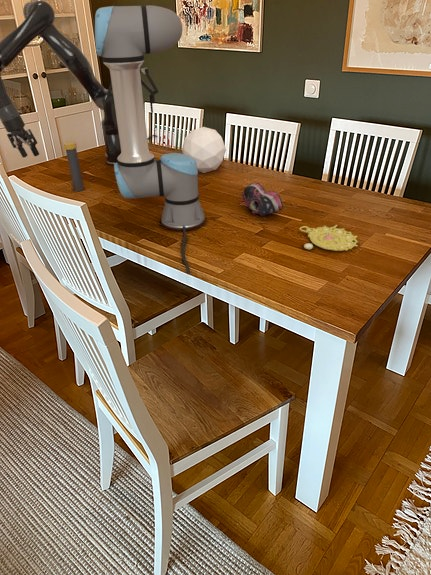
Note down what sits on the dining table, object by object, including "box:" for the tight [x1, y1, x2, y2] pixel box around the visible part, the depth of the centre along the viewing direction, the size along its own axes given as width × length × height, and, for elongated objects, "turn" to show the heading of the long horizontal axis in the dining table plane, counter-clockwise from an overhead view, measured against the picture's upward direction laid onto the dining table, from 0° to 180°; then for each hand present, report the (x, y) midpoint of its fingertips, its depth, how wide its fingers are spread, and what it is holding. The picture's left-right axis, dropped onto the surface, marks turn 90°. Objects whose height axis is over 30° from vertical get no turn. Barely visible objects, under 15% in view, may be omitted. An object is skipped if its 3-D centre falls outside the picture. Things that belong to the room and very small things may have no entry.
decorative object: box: [299, 224, 359, 252], centre depth 141 cm, size 21×2×20 cm
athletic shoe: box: [238, 182, 284, 217], centre depth 160 cm, size 11×22×12 cm
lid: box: [63, 141, 78, 151], centre depth 178 cm, size 5×5×2 cm
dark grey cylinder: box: [65, 148, 85, 192], centre depth 182 cm, size 4×4×19 cm
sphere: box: [181, 126, 227, 174], centre depth 199 cm, size 19×20×20 cm
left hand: (31, 156), depth 184 cm, fingers open, 8 cm apart
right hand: (135, 113), depth 181 cm, fingers open, 13 cm apart
